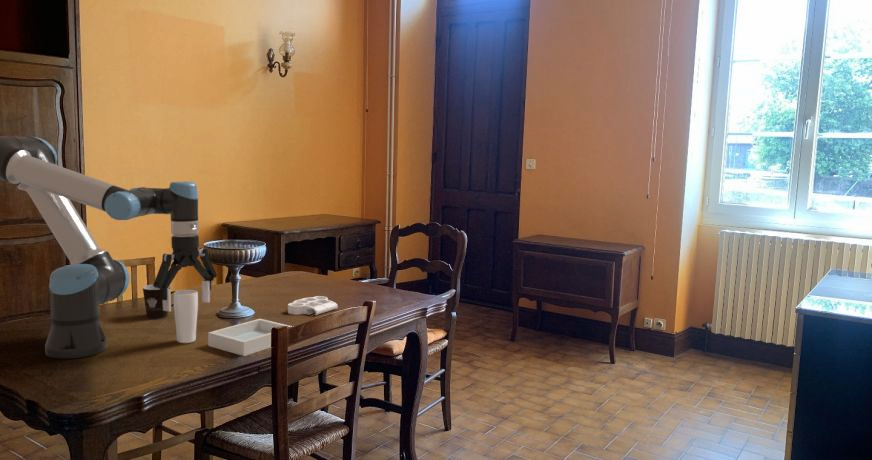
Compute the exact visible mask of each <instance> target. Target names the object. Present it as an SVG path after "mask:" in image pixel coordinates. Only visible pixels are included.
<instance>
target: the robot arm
mask: <svg viewBox="0 0 872 460" xmlns="http://www.w3.org/2000/svg"><path fill="white" fill-rule="evenodd" d="M57 161H58V155H57V152H56V150H55V148H54V147H53V145H52V144H50V143H49V142H48V141H46V140H45V139H43V138H40V137H36V136H30V135H24V136H23V135H21V136H8V135H7V136H6V135H1V136H0V180H2V181H4V182H8V183H10V184H14V185H16V187H17V188H18V189H19V190H21V191H25V192H27V195H29V197H30V199H31V200H32V202H33V203H34V205H35V207H36V209H37V210H38V211H39V214H40V215H41V217H42V218H43V220H44V221H45V223H46V225H47V227H48V228H49V230H50V231H51V233H52V234H53V236H54V238H55V239H56V241H57V243H58V244H59V245H60V247H61V250H62V251H63V252H64V254H65V256H66V257H67V259H68V260H69V262H70V265H65V266H62V267H58V268H56V269H55V270H53V271H52V272H51V273H50V276H49V284H48V288H49V299H50V300H49V301H50V302H49V304H50V318H51V319H50V320H51V323H50V324H51V326H50V330H49V332H48V336H47V338H46V341H45V345H44V354H45V355H46V356H47V357H49V358H52V359H64V360H65V359H79V358H85V357H90V356H94V355H96V354H100V353H102V352H104V351H105V350H106V349H107V338H106V336H105V335H106V334H104V331H103V329H102V326H101V323H100V314H99V311H100V310H99V306H101V305H103V304H105V303H107V302H112V301H114V300H116V299H117V298H119V297H120V296H121V295H123V294H124V293H125V292H126V290H127V289H128V288H129V283H130V274H129V270H128V267H126V265H125V264H124V263H123V262H121V261H119V260H117V259H113V257H112V256H111V254H110V252H109V251H108V250H106V249H103V248H100V247H99V245H98V243H97V242H96V240H95V239H94V236H93V235H92V234H91V232H90V230H89V229H88V227H87V225H86V224H85V223H84V221H83V219H82V217H81V216H80V214H79V213H78V210H77V209H76V208H75V206H74V205H73V203H72V201H74V202H77V203H80V204H82V205H86V206H87V207H91V208H94V209H97V210H100V211H102V212H105V213H106V215H108V216H109V217H110V218H111V219H113V220H117V221H128V220H131V219H135V218H140V217H144V216H148V215H169V216H170V234H171V238H170V239H171V243H170V244H171V249H172V254H171V253H163V254H162V258H161V259H162V261H161V264H160V266H159V269H158V271H157V274H156V277H155V279H154V282H153V286H154V287H156V288H159V289H160V298H161V300H163V310H164V311H168V313H169V312H172V307H171V305H172V294H171V292H172V291H171V288H170V289H168V287H169V285H170V286H171V283H172V282H173V281H174V280H175V277H176V276H177V274H178V272H179V271H180V270H181V269H183V268H187V267H193V268H194V269H195V270H196V272H197V273H198V274H199V275H200V276H201V277H202V278H203V280H201V301H202V303H207V304H208V303H211V291H212V282H213V281H214V279H215V278H217V277H218V274H217V272H216V269H215V267H214V266H213V263H212V261H211V259H210V257H209V253H208V252H209V251H208V249H207V248H202V247H201V248H200V236H199V235H198V234H199V233H200V232H199V227H200V226H199V195H198V192H199V191H198V186H197V184H196V183H195V182H194V181H171V182H170V184H169V187H165V188H163V187H162V188H161V187H158V188H157V187H144V186H141V187H132V188H130V189H126V188H123V187H120V186H117V185H114V184H113V183H109V182H105V181H104V180H100V179H97V178H94V177H93V176H89V175H85V174H83V173H80V172H77V171H75V170H72V169H68V168H66V167H63V166H61V165H58V162H57ZM198 257H199V259H200V260H201V261H200V260H199V259H198ZM201 262H202V263H201Z"/></svg>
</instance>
